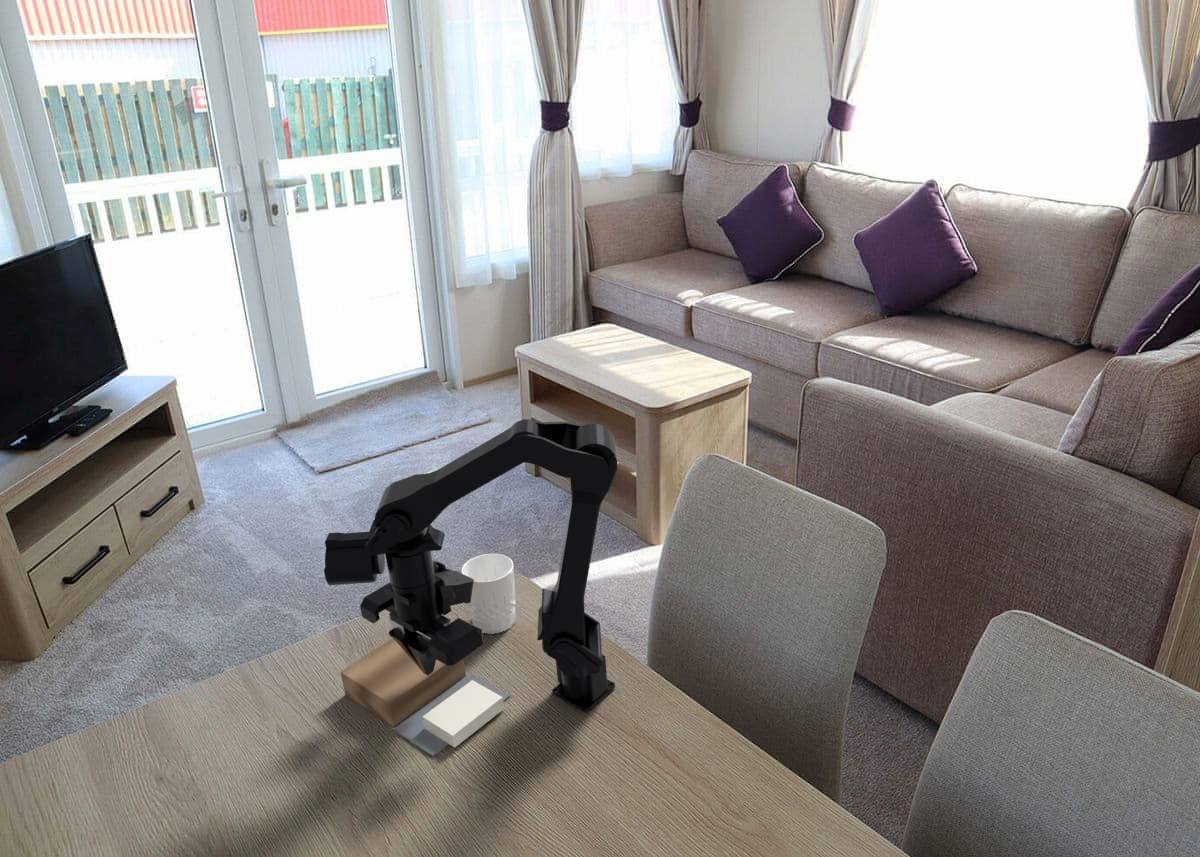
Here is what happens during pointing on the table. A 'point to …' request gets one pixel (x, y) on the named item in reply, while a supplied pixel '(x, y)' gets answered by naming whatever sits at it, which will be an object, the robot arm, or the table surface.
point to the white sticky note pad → (463, 713)
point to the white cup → (491, 592)
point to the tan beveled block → (396, 682)
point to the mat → (414, 724)
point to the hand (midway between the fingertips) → (428, 672)
